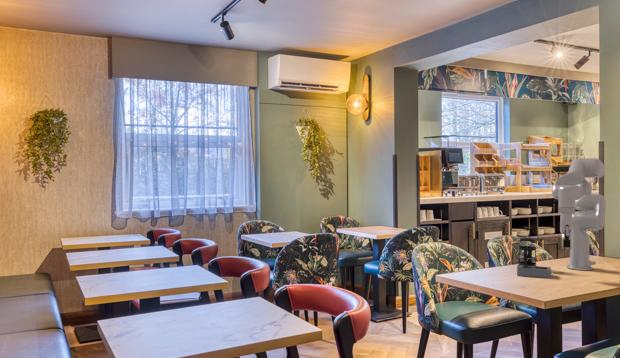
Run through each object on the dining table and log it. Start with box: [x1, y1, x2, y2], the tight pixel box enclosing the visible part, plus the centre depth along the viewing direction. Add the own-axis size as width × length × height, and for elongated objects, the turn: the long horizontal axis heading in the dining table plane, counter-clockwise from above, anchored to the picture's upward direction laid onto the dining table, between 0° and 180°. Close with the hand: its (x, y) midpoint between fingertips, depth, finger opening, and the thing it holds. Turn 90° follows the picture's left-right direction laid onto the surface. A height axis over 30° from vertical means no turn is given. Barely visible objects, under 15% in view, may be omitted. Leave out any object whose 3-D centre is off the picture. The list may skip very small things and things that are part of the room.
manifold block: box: [516, 264, 552, 279], centre depth 268 cm, size 16×10×4 cm, turn 67°
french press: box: [518, 226, 537, 266], centre depth 287 cm, size 12×9×23 cm
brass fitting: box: [561, 232, 571, 250], centre depth 262 cm, size 4×4×8 cm
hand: (566, 246), depth 262 cm, fingers closed on brass fitting, 4 cm apart
